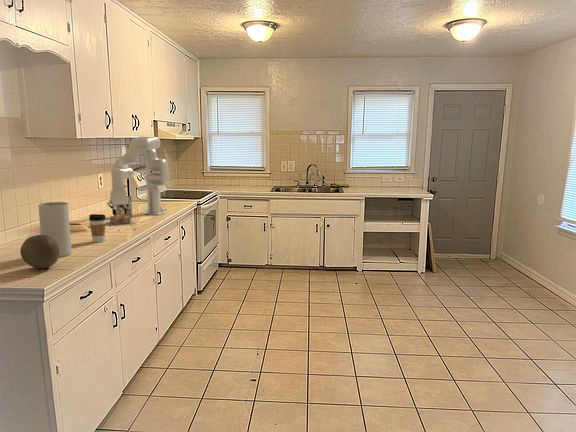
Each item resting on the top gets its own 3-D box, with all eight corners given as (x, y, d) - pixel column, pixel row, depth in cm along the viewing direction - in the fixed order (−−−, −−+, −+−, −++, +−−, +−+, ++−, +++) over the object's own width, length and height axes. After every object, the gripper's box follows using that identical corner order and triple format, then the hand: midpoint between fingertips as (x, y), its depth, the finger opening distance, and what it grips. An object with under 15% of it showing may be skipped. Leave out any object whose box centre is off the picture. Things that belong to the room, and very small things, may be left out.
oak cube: (122, 216, 278) (122, 208, 278) (124, 217, 274) (124, 209, 274) (114, 216, 275) (114, 209, 275) (116, 217, 272) (116, 210, 271)
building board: (129, 221, 287) (129, 219, 287) (137, 226, 274) (137, 224, 274) (103, 224, 277) (103, 222, 277) (109, 228, 264) (109, 226, 264)
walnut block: (125, 221, 282) (125, 215, 282) (130, 223, 274) (129, 217, 274) (110, 222, 276) (109, 216, 276) (114, 225, 268) (113, 219, 268)
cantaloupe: (34, 264, 188) (31, 231, 185) (66, 264, 189) (64, 232, 186) (15, 273, 174) (12, 238, 172) (50, 274, 175) (47, 239, 172)
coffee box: (132, 218, 302) (131, 195, 299) (128, 219, 295) (127, 197, 293) (120, 217, 303) (119, 195, 300) (115, 219, 296) (114, 196, 293)
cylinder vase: (64, 249, 213) (61, 201, 208) (76, 254, 205) (72, 204, 201) (38, 254, 203) (34, 203, 199) (48, 259, 195) (44, 206, 191)
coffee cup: (90, 240, 234) (89, 213, 231) (106, 239, 237) (105, 213, 235) (90, 243, 226) (88, 216, 224) (107, 242, 230) (105, 215, 227)
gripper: (130, 186, 279) (131, 213, 282) (102, 187, 269) (104, 215, 272) (133, 187, 273) (134, 214, 276) (105, 188, 263) (107, 216, 266)
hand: (119, 214), depth 274 cm, fingers open, 5 cm apart
